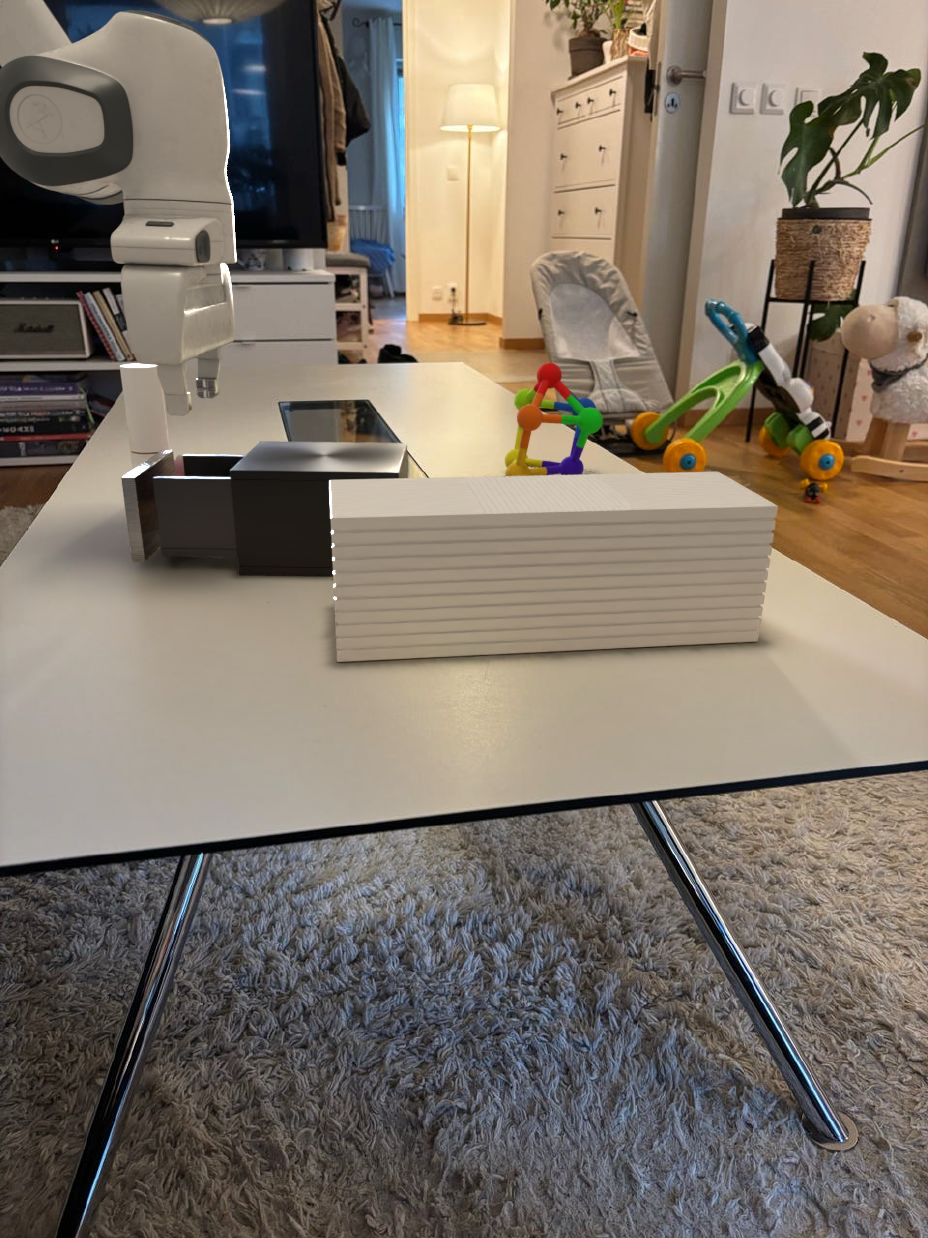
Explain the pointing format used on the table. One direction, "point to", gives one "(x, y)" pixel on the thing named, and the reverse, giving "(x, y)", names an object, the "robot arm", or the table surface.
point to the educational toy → (533, 417)
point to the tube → (144, 411)
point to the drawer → (181, 507)
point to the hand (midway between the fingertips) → (195, 405)
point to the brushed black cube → (298, 500)
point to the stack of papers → (545, 563)
